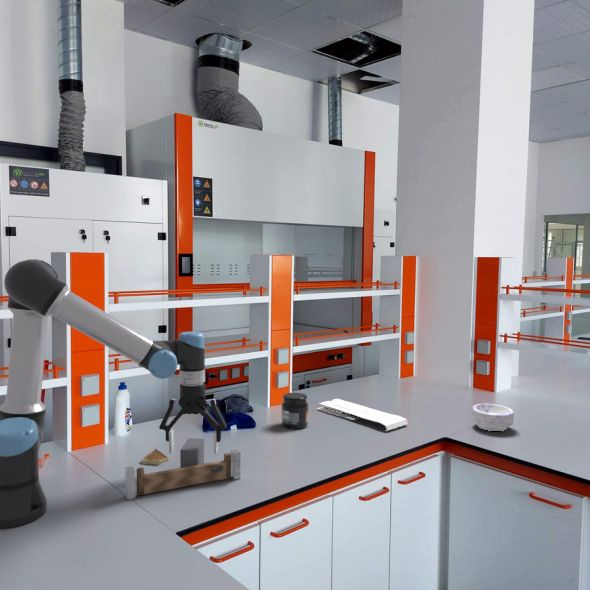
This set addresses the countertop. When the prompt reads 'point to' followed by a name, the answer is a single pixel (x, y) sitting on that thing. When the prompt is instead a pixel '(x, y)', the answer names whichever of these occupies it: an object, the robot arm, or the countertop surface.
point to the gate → (183, 476)
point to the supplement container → (294, 410)
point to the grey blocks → (131, 474)
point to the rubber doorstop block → (192, 453)
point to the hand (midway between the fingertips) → (193, 451)
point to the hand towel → (363, 413)
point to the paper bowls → (492, 416)
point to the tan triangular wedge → (154, 458)
